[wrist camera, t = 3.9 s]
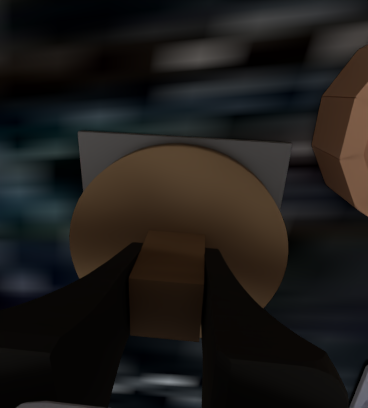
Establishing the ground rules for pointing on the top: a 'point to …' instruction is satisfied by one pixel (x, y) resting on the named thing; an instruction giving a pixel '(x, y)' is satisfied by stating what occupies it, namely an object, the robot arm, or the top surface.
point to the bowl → (345, 133)
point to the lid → (179, 232)
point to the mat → (237, 149)
